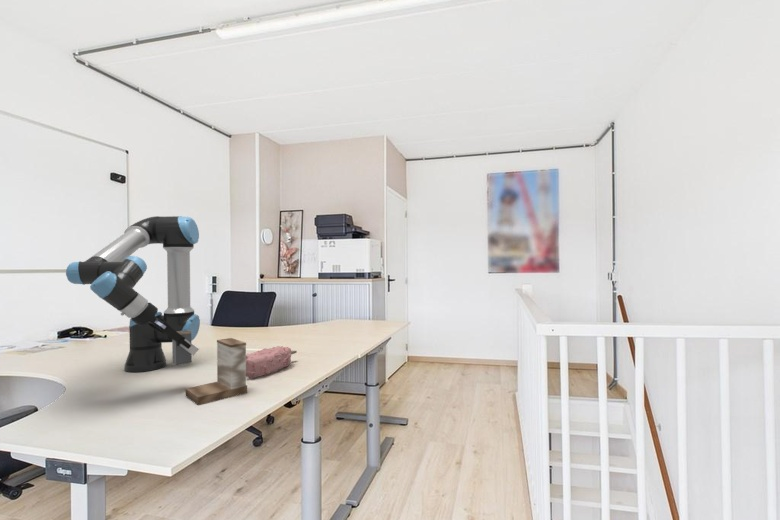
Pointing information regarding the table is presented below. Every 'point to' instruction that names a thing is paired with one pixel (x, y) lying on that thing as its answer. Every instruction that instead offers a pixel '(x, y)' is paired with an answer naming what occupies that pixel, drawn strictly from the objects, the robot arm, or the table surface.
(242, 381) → the stand
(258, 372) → the ice cream bar
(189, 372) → the table surface
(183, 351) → the case
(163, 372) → the table surface
